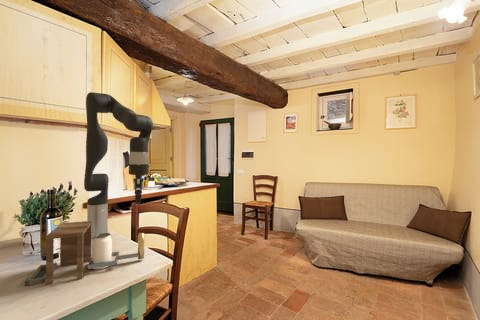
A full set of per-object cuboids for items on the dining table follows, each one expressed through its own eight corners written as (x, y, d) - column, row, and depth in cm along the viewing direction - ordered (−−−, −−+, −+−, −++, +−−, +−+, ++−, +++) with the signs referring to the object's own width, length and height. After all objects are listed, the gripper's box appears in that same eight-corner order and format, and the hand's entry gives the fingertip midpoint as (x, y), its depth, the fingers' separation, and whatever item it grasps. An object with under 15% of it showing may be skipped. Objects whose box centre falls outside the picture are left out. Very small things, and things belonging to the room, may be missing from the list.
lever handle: (92, 260, 90) (93, 235, 90) (144, 253, 98) (144, 230, 98) (87, 271, 82) (88, 243, 82) (144, 262, 89) (144, 237, 89)
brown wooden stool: (61, 264, 89) (61, 223, 89) (91, 260, 93) (91, 220, 93) (46, 284, 75) (46, 235, 74) (82, 278, 79) (82, 232, 78)
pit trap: (40, 269, 85) (40, 265, 85) (56, 266, 87) (56, 262, 87) (24, 286, 74) (24, 281, 74) (44, 282, 76) (44, 278, 76)
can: (104, 270, 84) (104, 238, 84) (87, 269, 85) (88, 237, 85) (115, 262, 91) (115, 232, 91) (99, 262, 91) (99, 232, 91)
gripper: (129, 162, 99) (129, 198, 100) (127, 163, 86) (127, 206, 87) (148, 162, 102) (147, 197, 103) (149, 163, 89) (148, 204, 90)
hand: (138, 201), depth 95 cm, fingers open, 8 cm apart
